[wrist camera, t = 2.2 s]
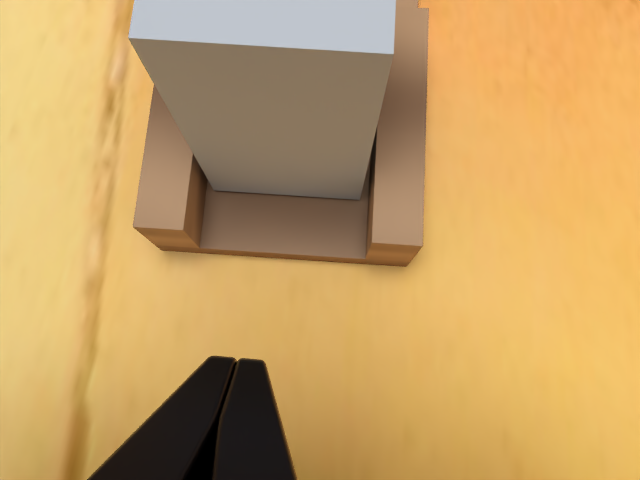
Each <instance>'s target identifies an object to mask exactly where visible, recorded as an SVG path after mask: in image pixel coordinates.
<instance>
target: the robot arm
mask: <svg viewBox="0 0 640 480" xmlns="http://www.w3.org/2000/svg"><path fill="white" fill-rule="evenodd" d="M87 480H297V477H296V473H295V469H294V466H293V462H292V458H291V455H290V451H289V447H288V444H287V440H286V436H285V433H284V429H283V425H282V422H281V418H280V414H279V411H278V407H277V403H276V400H275V396H274V392H273V389H272V385H271V381H270V378H269V374H268V370H267V367H266V364H265V362H264V361H263V360H257V359H245V358H241V359H239V360H238V361H237V360H236V359H235V358H233V357H222V356H211V357H209V358H207V359H206V360H205V361H204V362H203V363H202V364H201V365H200V366H199V367H198V368H197V369H196V370H195V371H194V372H193V373H192V374H191V375H190V376H189V377H188V378H187V379H186V381H185V382H184V383H183V384H182V385H181V386H180V387H179V388H178V389H177V390H176V391H175V392H174V393H173V394H172V395H171V396H170V397H169V398H168V399H167V400H166V401H165V402H164V403H163V404H162V405H161V406H160V407H159V408H158V409H157V410H156V411H155V412H154V413H153V414H152V415H151V416H150V417H149V418H148V419H147V420H146V421H145V422H144V423H143V424H142V425H141V426H140V427H139V428H138V429H137V430H136V431H135V432H134V433H133V434H132V435H131V436H130V437H129V438H128V439H127V440H126V441H125V442H124V443H123V444H122V445H121V446H120V447H119V448H118V449H117V450H116V451H115V452H114V453H113V454H112V455H111V456H110V457H109V458H108V459H107V460H106V461H105V462H104V463H103V464H102V465H101V466H100V467H99V468H98V469H97V470H96V471H95V472H94V473H93V474H92V475H91V476H90V477H89V478H88V479H87Z"/></svg>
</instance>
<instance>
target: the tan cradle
mask: <svg viewBox="0 0 640 480" xmlns="http://www.w3.org/2000/svg"><path fill="white" fill-rule="evenodd" d="M428 20H429V8H418V0H396V10H395V35H394V55H393V59H392V64H391V68H390V72H389V77H388V81H387V85H386V89H385V94H384V98H383V102H382V107H381V111H380V115H379V120H378V124H377V128H376V133H375V137H374V141H373V146H372V150H371V154H370V158H369V163H368V167H367V171H366V176H365V180H364V184H363V189H362V193H361V197H360V200H353V199H338V198H323V197H307V196H292V195H276V194H261V193H246V192H230V191H215V190H213V188H212V186H211V184H210V183H209V181H208V179H207V177H206V175H205V174H204V172H203V170H202V168H201V167H200V165H199V163H198V161H197V159H196V158H195V156H194V154H193V152H192V151H191V149H190V147H189V145H188V143H187V142H186V140H185V138H184V136H183V135H182V133H181V131H180V129H179V127H178V126H177V124H176V122H175V120H174V118H173V117H172V115H171V113H170V111H169V110H168V108H167V106H166V104H165V102H164V101H163V99H162V97H161V95H160V94H159V92H158V90H157V88H156V86H155V85H154V88H153V95H152V101H151V108H150V115H149V122H148V128H147V135H146V142H145V148H144V155H143V162H142V168H141V175H140V182H139V188H138V195H137V202H136V208H135V215H134V222H133V227H134V228H135V229H136V230H137V231H138V232H140V233H141V234H142V235H143V236H145V237H146V238H147V239H148V240H150V241H151V242H152V243H153V244H155V245H156V246H157V247H158V248H160V249H161V250H165V251H180V252H195V253H210V254H225V255H240V256H255V257H271V258H286V259H301V260H316V261H331V262H346V263H361V264H376V265H391V266H407V265H408V264H409V263H410V261H411V260H412V259H413V258H414V256H415V255H416V254H417V253H418V251H419V250H420V249H421V247H422V246H423V215H424V176H425V137H426V98H427V59H428Z"/></svg>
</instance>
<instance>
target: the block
mask: <svg viewBox="0 0 640 480" xmlns="http://www.w3.org/2000/svg"><path fill="white" fill-rule="evenodd" d="M395 10H396V0H134V6H133V12H132V18H131V24H130V31H129V37H128V38H129V40H130V42H131V44H132V45H133V47H134V49H135V51H136V53H137V54H138V56H139V58H140V60H141V61H142V63H143V65H144V67H145V69H146V70H147V72H148V74H149V76H150V77H151V79H152V81H153V83H154V85H155V86H156V88H157V90H158V92H159V94H160V95H161V97H162V99H163V101H164V102H165V104H166V106H167V108H168V110H169V111H170V113H171V115H172V117H173V118H174V120H175V122H176V124H177V126H178V127H179V129H180V131H181V133H182V135H183V136H184V138H185V140H186V142H187V143H188V145H189V147H190V149H191V151H192V152H193V154H194V156H195V158H196V159H197V161H198V163H199V165H200V167H201V168H202V170H203V172H204V174H205V175H206V177H207V179H208V181H209V183H210V184H211V186H212V188H213V190H215V191H230V192H246V193H261V194H276V195H292V196H307V197H323V198H338V199H353V200H360V197H361V193H362V189H363V184H364V180H365V176H366V171H367V167H368V163H369V158H370V154H371V150H372V146H373V141H374V137H375V133H376V128H377V124H378V120H379V115H380V111H381V107H382V102H383V98H384V94H385V89H386V85H387V81H388V77H389V72H390V68H391V64H392V59H393V55H394V35H395Z"/></svg>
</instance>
